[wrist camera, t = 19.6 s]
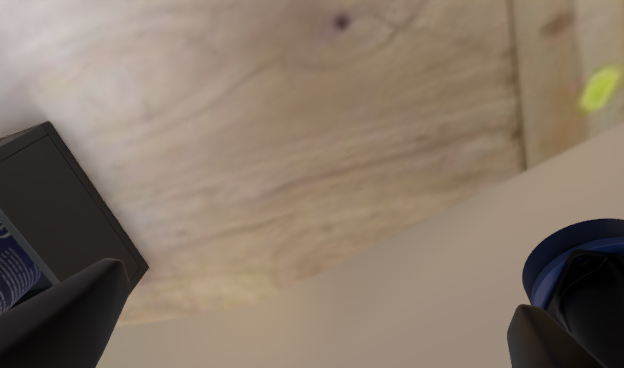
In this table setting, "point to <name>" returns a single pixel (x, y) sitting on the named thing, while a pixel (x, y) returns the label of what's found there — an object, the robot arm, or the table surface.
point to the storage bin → (57, 211)
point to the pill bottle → (14, 271)
